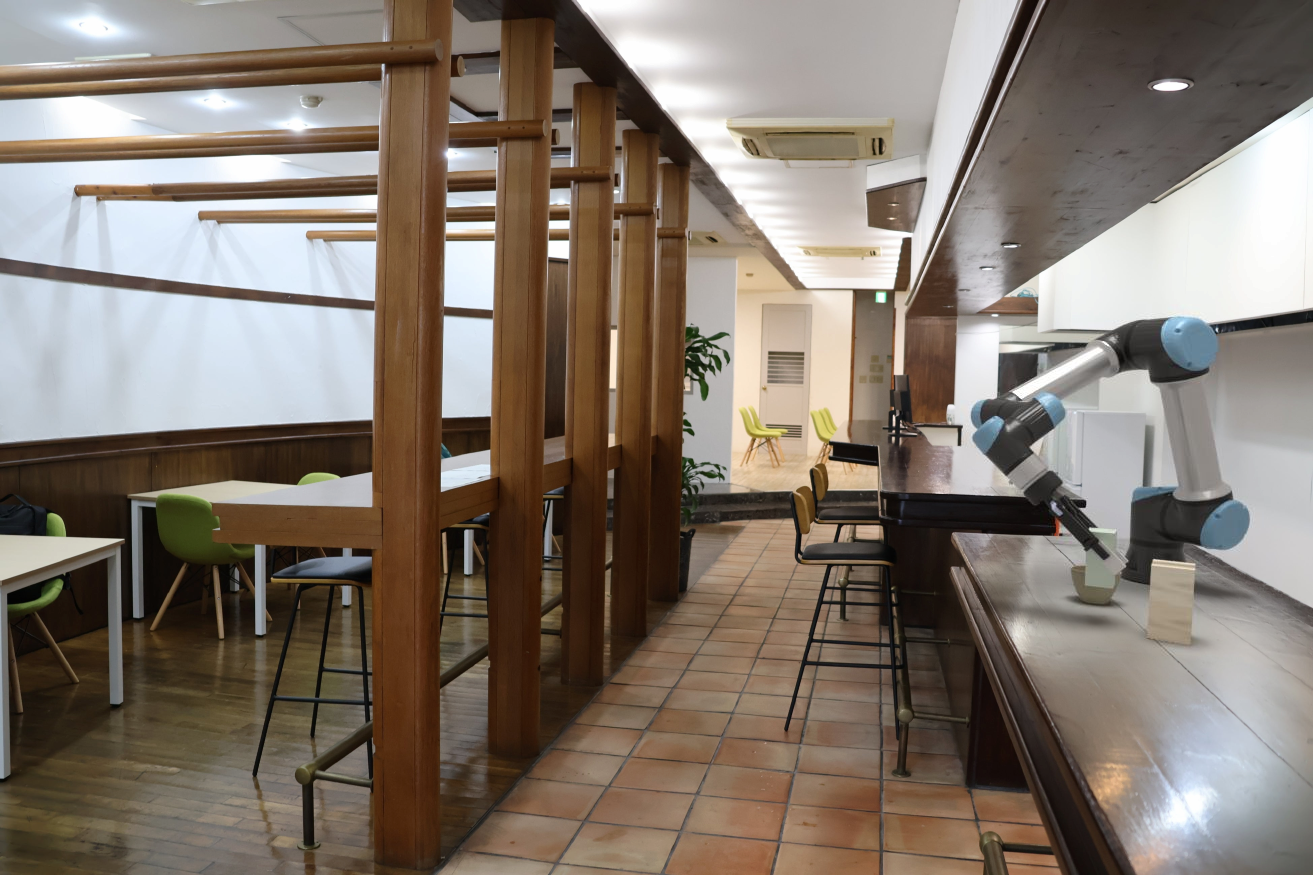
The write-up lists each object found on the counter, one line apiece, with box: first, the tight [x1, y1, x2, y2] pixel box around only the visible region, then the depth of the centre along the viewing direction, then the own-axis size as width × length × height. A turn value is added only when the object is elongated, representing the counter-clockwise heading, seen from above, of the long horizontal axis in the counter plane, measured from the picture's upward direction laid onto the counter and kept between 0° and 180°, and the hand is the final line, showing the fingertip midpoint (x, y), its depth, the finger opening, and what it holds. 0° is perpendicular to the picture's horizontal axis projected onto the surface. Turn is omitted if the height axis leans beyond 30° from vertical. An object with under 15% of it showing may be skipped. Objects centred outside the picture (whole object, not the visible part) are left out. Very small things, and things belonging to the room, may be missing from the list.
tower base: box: [1146, 601, 1194, 646], centre depth 167 cm, size 7×7×7 cm
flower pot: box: [1070, 564, 1122, 605], centre depth 194 cm, size 10×10×7 cm
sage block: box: [1085, 527, 1118, 589], centre depth 178 cm, size 5×5×11 cm
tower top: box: [1148, 559, 1196, 609], centre depth 167 cm, size 7×7×7 cm
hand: (1121, 567), depth 176 cm, fingers closed on sage block, 5 cm apart
